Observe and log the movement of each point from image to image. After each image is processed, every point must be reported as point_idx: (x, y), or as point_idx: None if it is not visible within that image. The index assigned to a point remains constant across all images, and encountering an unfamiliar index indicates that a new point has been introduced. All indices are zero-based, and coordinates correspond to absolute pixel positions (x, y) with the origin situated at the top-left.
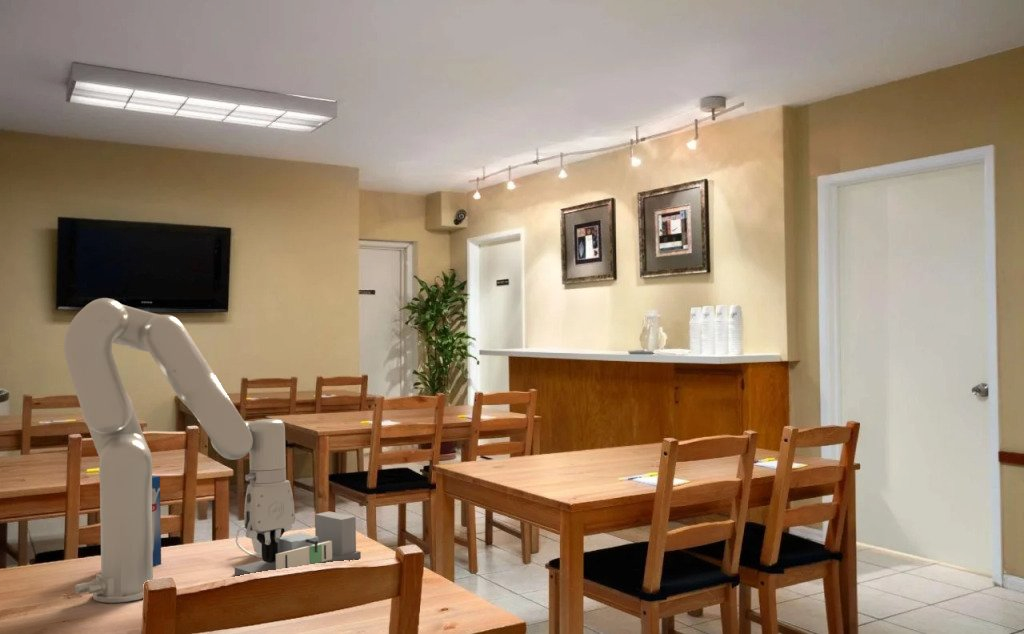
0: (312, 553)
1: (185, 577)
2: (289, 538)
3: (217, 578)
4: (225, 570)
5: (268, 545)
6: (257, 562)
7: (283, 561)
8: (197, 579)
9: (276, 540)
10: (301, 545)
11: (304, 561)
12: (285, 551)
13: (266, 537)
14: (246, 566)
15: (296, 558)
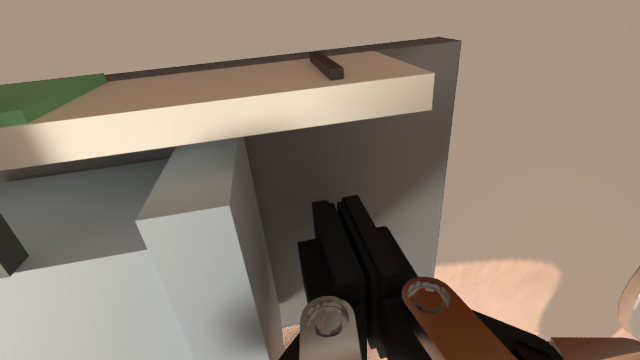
0: (33, 96)
1: (520, 324)
2: (187, 338)
3: (483, 264)
4: None
5: (395, 288)
6: None
7: (350, 67)
8: (521, 289)
9: (339, 312)
10: (100, 228)
11: (146, 84)
12: (253, 232)
13: (473, 332)
14: None
15: (220, 84)
